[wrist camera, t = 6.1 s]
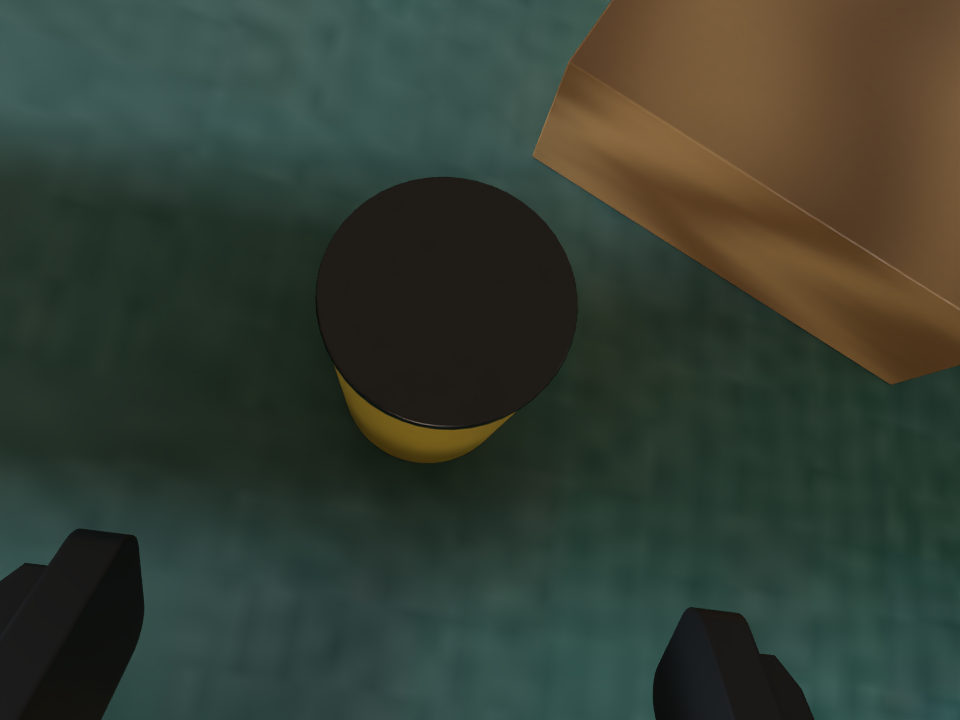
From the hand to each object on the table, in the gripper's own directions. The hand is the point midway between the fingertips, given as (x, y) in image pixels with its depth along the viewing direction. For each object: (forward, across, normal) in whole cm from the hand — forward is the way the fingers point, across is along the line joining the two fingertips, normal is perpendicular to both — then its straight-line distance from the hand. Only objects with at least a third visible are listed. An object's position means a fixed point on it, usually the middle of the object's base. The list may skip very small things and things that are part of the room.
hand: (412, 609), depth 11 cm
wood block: (+19, -12, -5) cm, 23 cm away
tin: (+11, 0, +3) cm, 11 cm away
